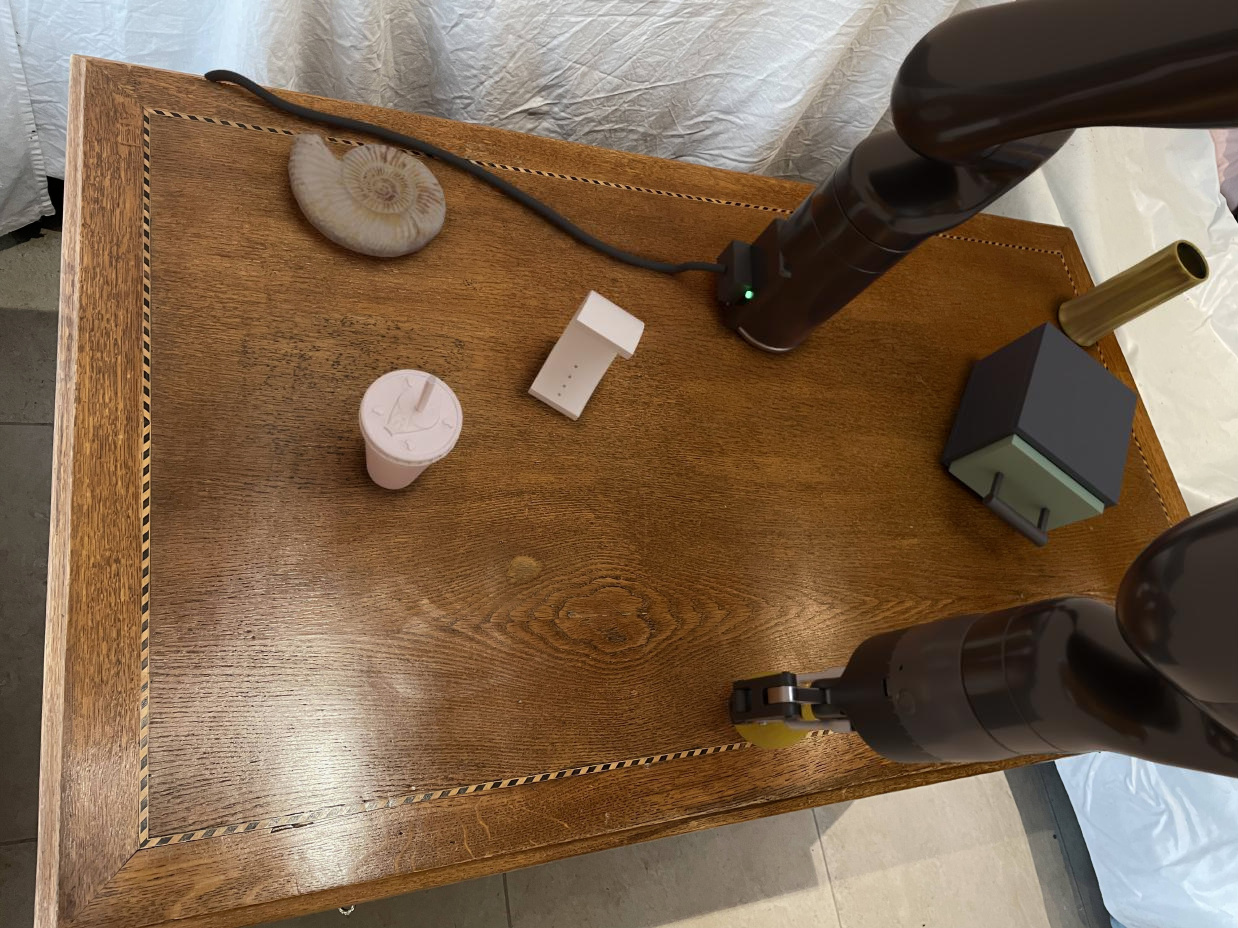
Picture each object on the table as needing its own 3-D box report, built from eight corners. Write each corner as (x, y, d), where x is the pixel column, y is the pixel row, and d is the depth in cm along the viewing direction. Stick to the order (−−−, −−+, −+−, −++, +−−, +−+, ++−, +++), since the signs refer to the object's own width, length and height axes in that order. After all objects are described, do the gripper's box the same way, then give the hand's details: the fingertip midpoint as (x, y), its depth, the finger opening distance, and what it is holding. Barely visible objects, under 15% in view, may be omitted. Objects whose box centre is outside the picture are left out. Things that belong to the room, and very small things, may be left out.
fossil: (287, 241, 58) (288, 108, 58) (286, 260, 63) (287, 136, 63) (452, 258, 63) (452, 135, 63) (440, 275, 67) (440, 160, 68)
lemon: (733, 763, 60) (793, 762, 53) (701, 695, 61) (755, 686, 54) (785, 729, 63) (848, 724, 56) (753, 664, 64) (812, 651, 57)
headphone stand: (527, 392, 64) (576, 319, 54) (557, 339, 67) (609, 260, 57) (575, 421, 65) (632, 354, 55) (603, 368, 68) (663, 295, 58)
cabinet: (1032, 531, 81) (1118, 504, 73) (940, 461, 80) (1017, 425, 71) (1057, 430, 89) (1138, 394, 80) (973, 363, 87) (1047, 320, 79)
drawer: (1024, 569, 78) (1095, 549, 71) (937, 503, 76) (1001, 477, 70) (1056, 438, 87) (1122, 410, 80) (979, 377, 85) (1039, 343, 78)
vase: (1090, 311, 99) (1206, 245, 87) (1097, 353, 96) (1218, 291, 84) (1054, 297, 97) (1167, 228, 85) (1060, 339, 95) (1178, 274, 82)
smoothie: (454, 471, 60) (500, 395, 47) (388, 524, 56) (420, 457, 44) (396, 409, 59) (428, 317, 47) (327, 458, 56) (342, 373, 44)
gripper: (1031, 631, 47) (859, 665, 61) (835, 611, 42) (696, 652, 56) (1056, 764, 45) (870, 768, 59) (849, 759, 40) (699, 764, 54)
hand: (785, 711), depth 57 cm, fingers open, 8 cm apart
